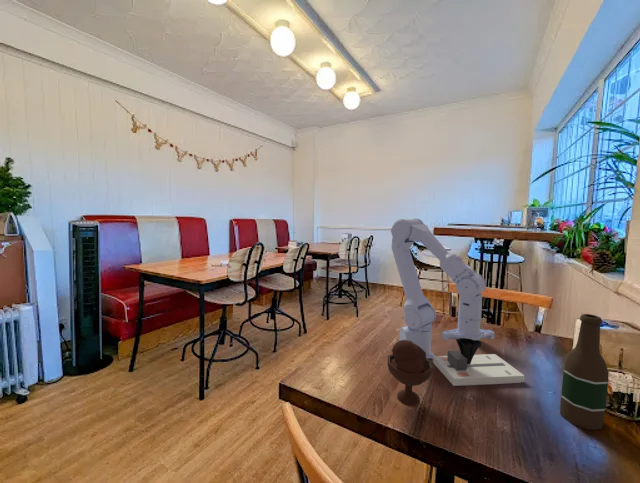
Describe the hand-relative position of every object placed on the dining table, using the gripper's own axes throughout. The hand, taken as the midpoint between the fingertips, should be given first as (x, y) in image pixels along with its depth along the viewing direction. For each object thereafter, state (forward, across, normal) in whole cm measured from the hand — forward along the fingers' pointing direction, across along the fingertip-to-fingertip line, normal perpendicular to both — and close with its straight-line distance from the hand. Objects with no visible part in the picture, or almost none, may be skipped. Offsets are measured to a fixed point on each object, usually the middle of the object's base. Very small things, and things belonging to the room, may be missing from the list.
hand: (466, 362), depth 85 cm
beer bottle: (+3, +15, -20) cm, 25 cm away
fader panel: (+3, +3, 0) cm, 4 cm away
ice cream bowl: (+3, -21, -10) cm, 23 cm away
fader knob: (+1, -3, 0) cm, 3 cm away
